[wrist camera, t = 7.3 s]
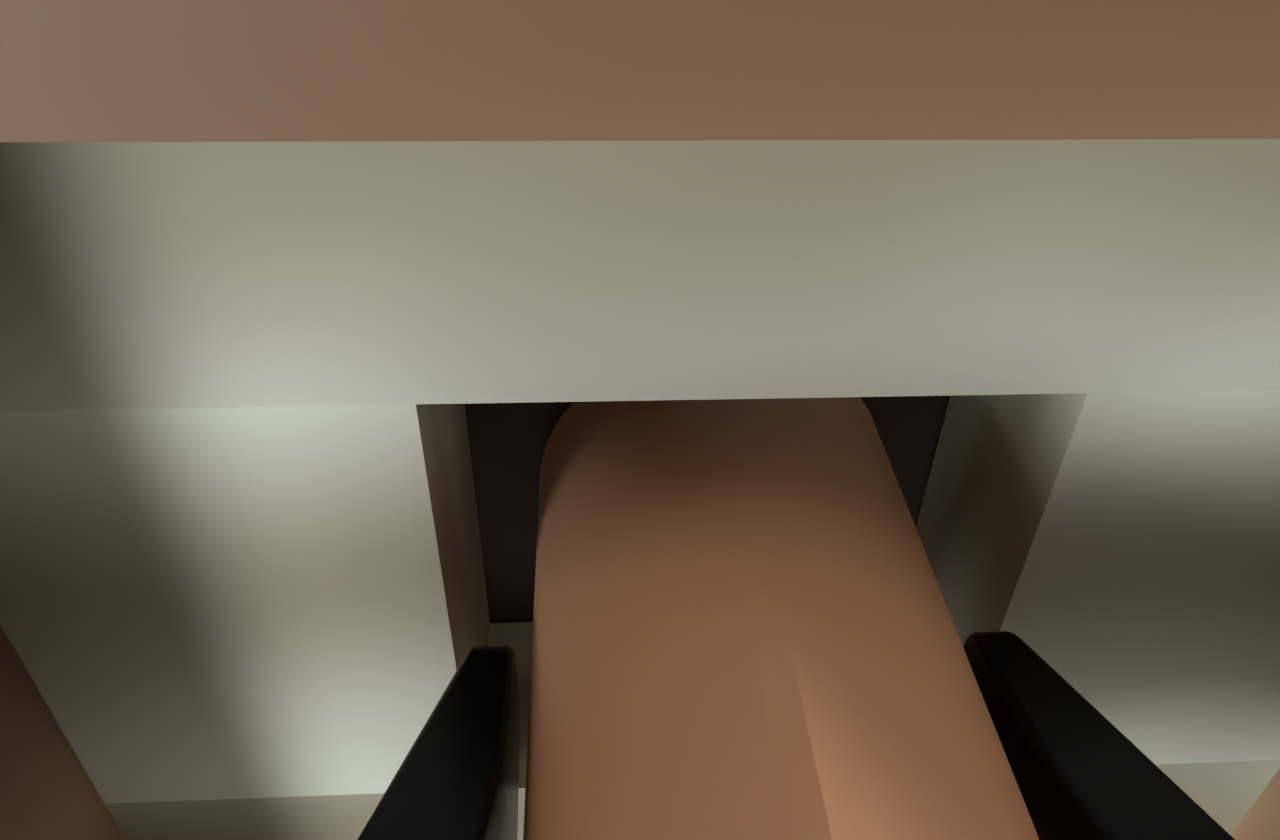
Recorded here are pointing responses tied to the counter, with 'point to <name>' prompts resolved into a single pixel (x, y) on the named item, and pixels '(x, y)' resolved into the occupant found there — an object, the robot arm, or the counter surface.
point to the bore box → (607, 351)
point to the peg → (746, 637)
